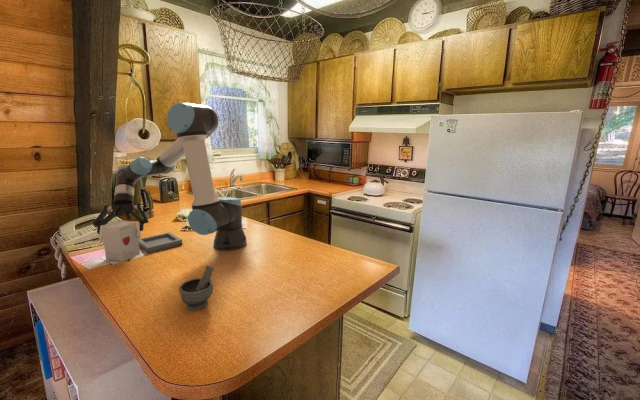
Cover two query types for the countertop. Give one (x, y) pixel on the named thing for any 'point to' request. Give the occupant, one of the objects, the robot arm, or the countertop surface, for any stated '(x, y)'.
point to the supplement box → (120, 240)
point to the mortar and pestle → (197, 290)
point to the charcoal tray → (159, 242)
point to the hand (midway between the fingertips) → (120, 239)
